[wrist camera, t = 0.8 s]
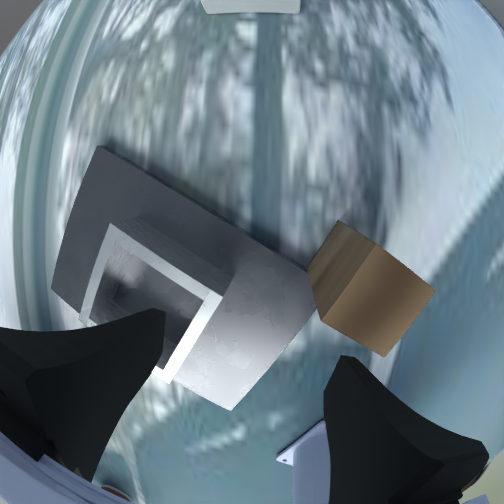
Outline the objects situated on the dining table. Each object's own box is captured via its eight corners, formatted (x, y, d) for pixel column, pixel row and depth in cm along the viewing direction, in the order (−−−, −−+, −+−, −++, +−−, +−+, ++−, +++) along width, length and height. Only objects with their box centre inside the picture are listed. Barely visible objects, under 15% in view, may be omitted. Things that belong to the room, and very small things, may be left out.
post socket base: (329, 283, 19) (341, 309, 15) (232, 403, 23) (223, 439, 18) (104, 146, 19) (68, 140, 14) (57, 285, 22) (26, 301, 18)
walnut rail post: (381, 251, 18) (436, 290, 11) (350, 296, 19) (384, 357, 12) (338, 220, 18) (376, 243, 11) (306, 268, 19) (320, 321, 12)
